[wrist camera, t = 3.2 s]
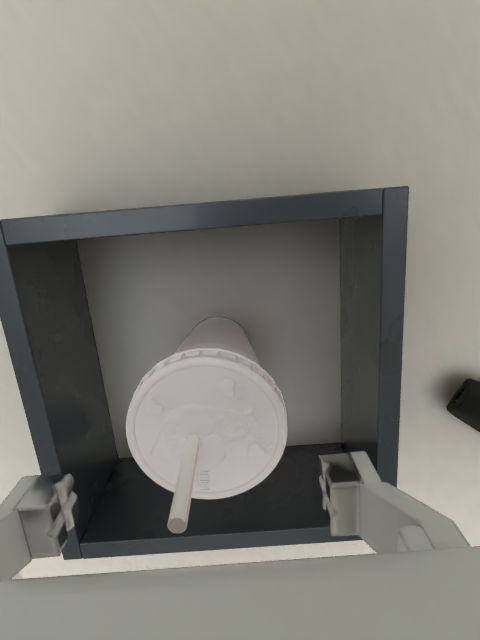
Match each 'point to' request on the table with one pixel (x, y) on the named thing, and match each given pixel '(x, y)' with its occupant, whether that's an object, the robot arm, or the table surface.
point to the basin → (89, 396)
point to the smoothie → (207, 419)
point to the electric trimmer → (467, 403)
